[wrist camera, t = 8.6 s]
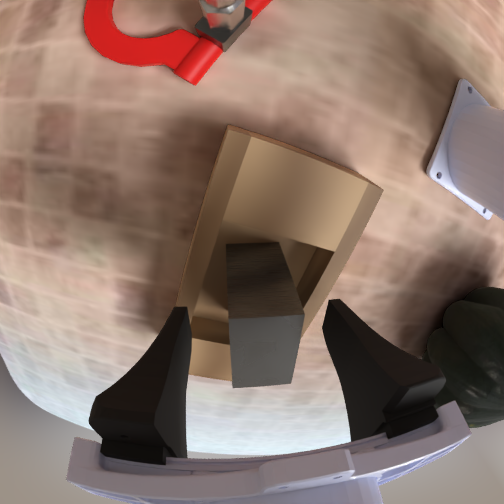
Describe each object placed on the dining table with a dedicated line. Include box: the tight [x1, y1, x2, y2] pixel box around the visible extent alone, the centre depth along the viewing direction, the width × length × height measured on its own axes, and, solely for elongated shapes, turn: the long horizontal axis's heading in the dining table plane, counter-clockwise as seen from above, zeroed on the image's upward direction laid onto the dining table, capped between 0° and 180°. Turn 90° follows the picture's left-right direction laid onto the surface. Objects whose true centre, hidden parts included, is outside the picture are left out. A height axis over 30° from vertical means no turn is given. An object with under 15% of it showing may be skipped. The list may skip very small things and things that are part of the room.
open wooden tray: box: [175, 124, 383, 381], centre depth 17 cm, size 8×16×3 cm, turn 161°
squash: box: [421, 287, 504, 428], centre depth 19 cm, size 14×15×15 cm
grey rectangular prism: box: [226, 242, 305, 388], centre depth 15 cm, size 3×5×6 cm, turn 179°
